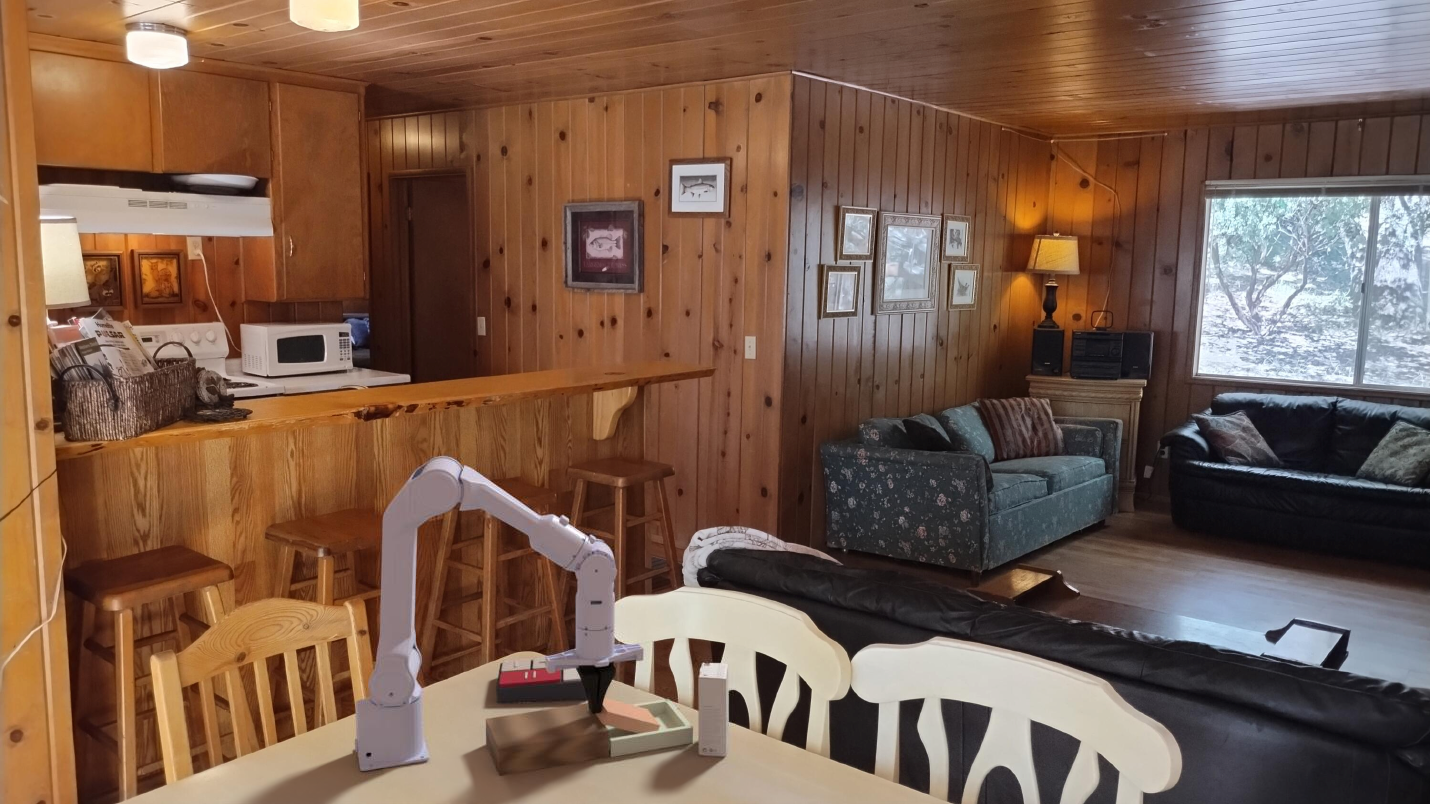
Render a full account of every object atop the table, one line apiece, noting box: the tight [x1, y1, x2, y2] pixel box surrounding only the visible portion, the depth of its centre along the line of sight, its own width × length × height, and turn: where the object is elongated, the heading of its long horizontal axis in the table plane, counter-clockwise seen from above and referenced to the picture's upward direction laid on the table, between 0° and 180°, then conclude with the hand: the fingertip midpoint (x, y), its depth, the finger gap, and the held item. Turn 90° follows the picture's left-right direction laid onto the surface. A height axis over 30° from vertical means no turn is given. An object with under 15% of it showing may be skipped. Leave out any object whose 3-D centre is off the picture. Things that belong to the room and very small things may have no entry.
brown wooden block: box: [485, 702, 610, 776], centre depth 155 cm, size 16×10×4 cm, turn 113°
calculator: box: [495, 656, 588, 705], centre depth 177 cm, size 11×4×15 cm
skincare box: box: [697, 662, 730, 757], centre depth 157 cm, size 6×4×12 cm
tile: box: [596, 697, 660, 734], centre depth 160 cm, size 9×6×2 cm, turn 113°
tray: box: [605, 698, 694, 758], centre depth 161 cm, size 13×11×2 cm
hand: (594, 710), depth 157 cm, fingers closed
